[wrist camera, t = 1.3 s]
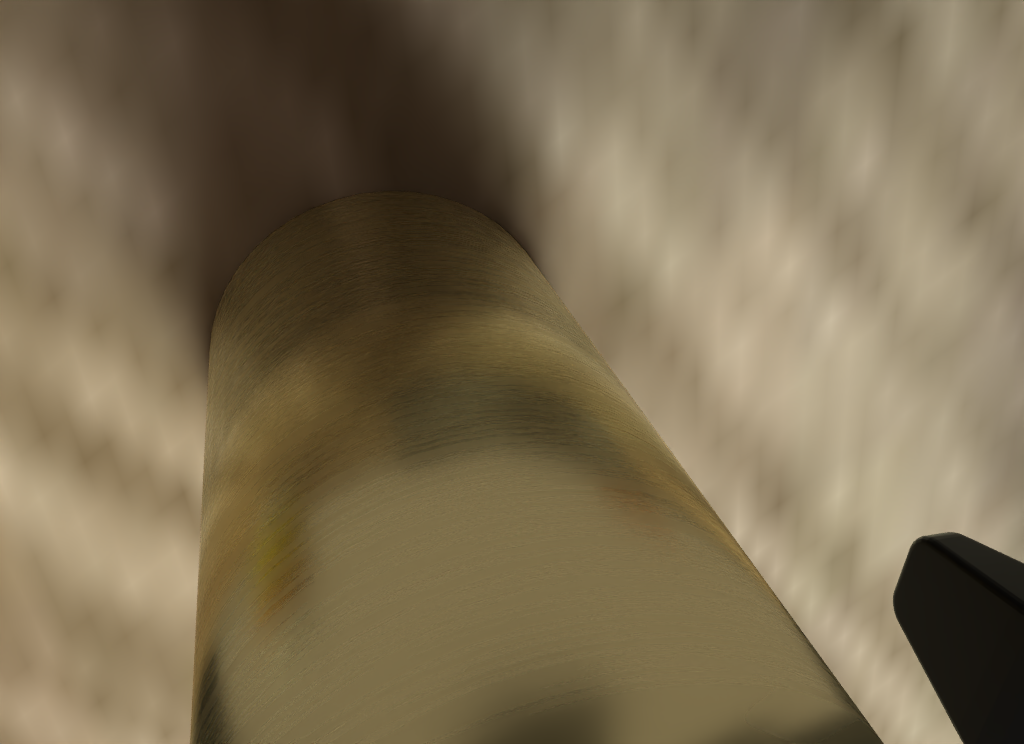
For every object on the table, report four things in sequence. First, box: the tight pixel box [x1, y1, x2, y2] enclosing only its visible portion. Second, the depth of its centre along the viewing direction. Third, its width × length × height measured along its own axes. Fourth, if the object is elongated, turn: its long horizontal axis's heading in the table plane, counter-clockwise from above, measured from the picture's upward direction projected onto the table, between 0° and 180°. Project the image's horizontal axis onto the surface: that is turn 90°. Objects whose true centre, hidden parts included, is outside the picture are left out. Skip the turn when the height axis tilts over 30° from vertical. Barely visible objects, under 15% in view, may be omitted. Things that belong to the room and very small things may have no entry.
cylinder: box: [190, 191, 883, 744], centre depth 9 cm, size 5×5×8 cm
